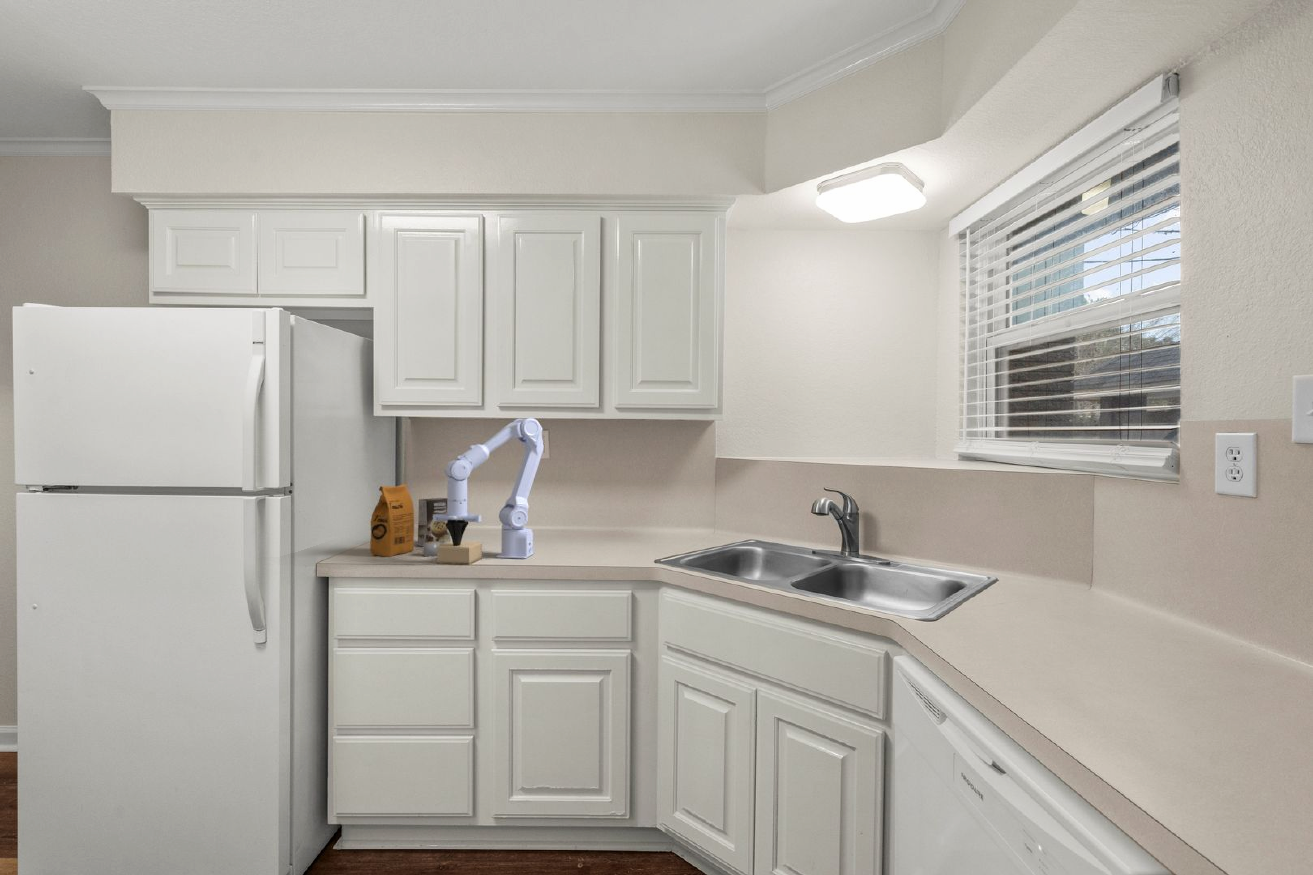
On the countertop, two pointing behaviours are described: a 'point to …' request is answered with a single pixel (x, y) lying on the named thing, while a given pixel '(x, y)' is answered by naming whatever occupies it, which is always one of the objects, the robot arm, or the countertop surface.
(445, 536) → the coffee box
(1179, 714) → the countertop surface
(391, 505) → the coffee package
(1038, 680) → the countertop surface
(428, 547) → the grey rounded cylinder
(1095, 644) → the countertop surface
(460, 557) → the box
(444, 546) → the lid
